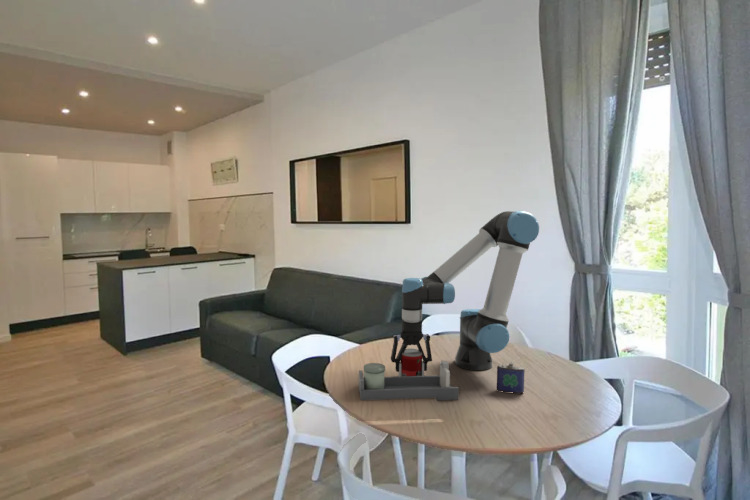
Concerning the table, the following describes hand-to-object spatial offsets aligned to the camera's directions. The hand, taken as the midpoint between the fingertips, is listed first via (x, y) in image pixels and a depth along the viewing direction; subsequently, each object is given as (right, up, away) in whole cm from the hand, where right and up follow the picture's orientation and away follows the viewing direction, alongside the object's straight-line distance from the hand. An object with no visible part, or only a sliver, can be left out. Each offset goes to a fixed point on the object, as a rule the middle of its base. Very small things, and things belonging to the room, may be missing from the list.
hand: (411, 379), depth 160 cm
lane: (-2, -1, -12) cm, 13 cm away
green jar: (-14, 0, -13) cm, 19 cm away
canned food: (0, 0, 0) cm, 1 cm away
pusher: (+11, 0, -11) cm, 15 cm away
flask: (+34, -2, -10) cm, 35 cm away
